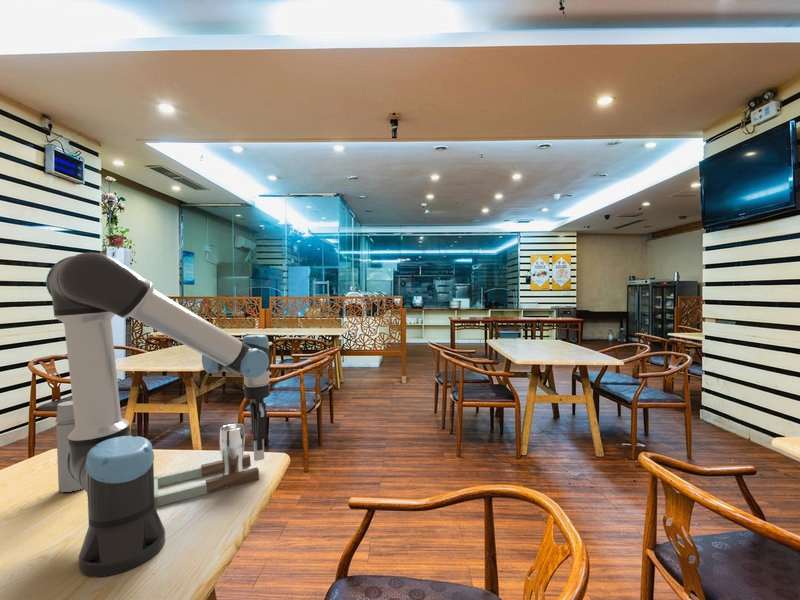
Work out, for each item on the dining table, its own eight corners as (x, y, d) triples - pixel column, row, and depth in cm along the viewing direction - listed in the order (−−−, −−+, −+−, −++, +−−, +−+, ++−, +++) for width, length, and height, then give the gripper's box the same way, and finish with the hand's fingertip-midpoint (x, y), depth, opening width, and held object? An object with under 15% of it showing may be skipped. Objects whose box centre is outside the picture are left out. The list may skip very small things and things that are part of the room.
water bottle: (62, 497, 109) (58, 407, 109) (54, 489, 114) (51, 403, 114) (102, 484, 117) (99, 400, 116) (93, 477, 121) (90, 396, 121)
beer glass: (249, 471, 123) (248, 423, 123) (238, 481, 116) (237, 431, 116) (228, 470, 124) (227, 423, 124) (216, 481, 117) (214, 430, 117)
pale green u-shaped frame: (206, 493, 110) (206, 484, 110) (151, 507, 103) (151, 498, 103) (201, 474, 122) (201, 466, 122) (151, 486, 115) (151, 477, 115)
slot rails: (259, 479, 117) (258, 469, 117) (206, 493, 110) (206, 482, 110) (249, 463, 129) (248, 454, 129) (201, 474, 122) (201, 464, 122)
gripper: (274, 386, 120) (276, 463, 121) (264, 379, 131) (266, 449, 132) (248, 390, 116) (251, 469, 117) (240, 382, 127) (242, 455, 128)
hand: (259, 459), depth 124 cm, fingers closed
